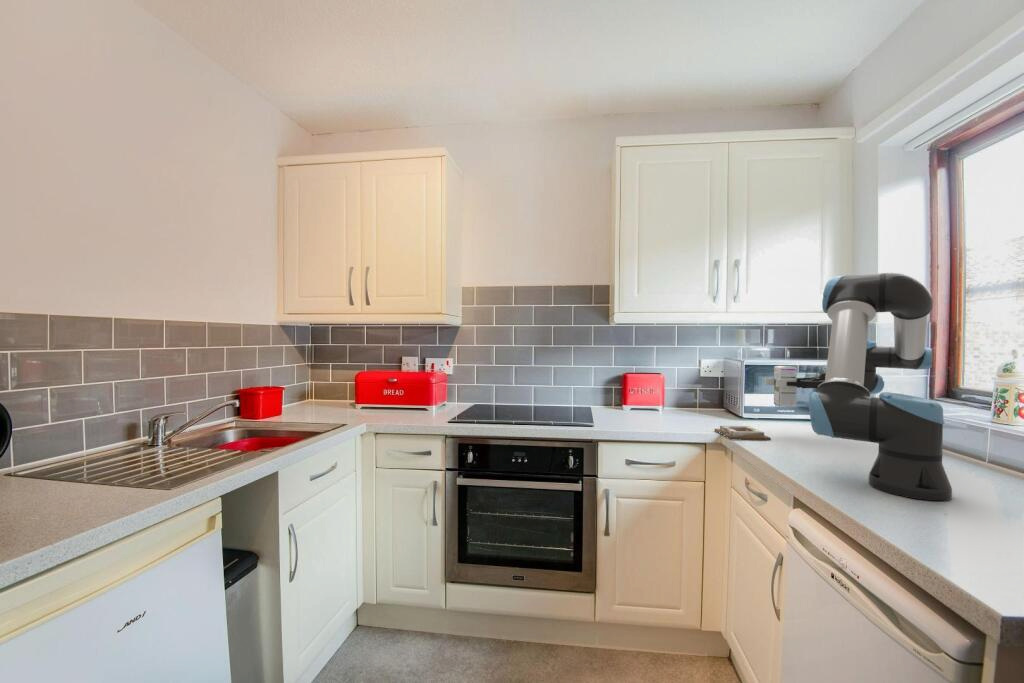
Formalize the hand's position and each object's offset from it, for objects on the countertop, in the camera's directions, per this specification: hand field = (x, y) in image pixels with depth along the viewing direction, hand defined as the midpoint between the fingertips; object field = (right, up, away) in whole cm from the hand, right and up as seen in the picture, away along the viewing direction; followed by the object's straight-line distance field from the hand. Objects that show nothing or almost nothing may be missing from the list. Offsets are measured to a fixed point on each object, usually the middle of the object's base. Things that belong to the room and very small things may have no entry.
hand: (771, 382), depth 159 cm
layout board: (-9, -21, +4) cm, 23 cm away
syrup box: (+5, -9, 0) cm, 10 cm away
